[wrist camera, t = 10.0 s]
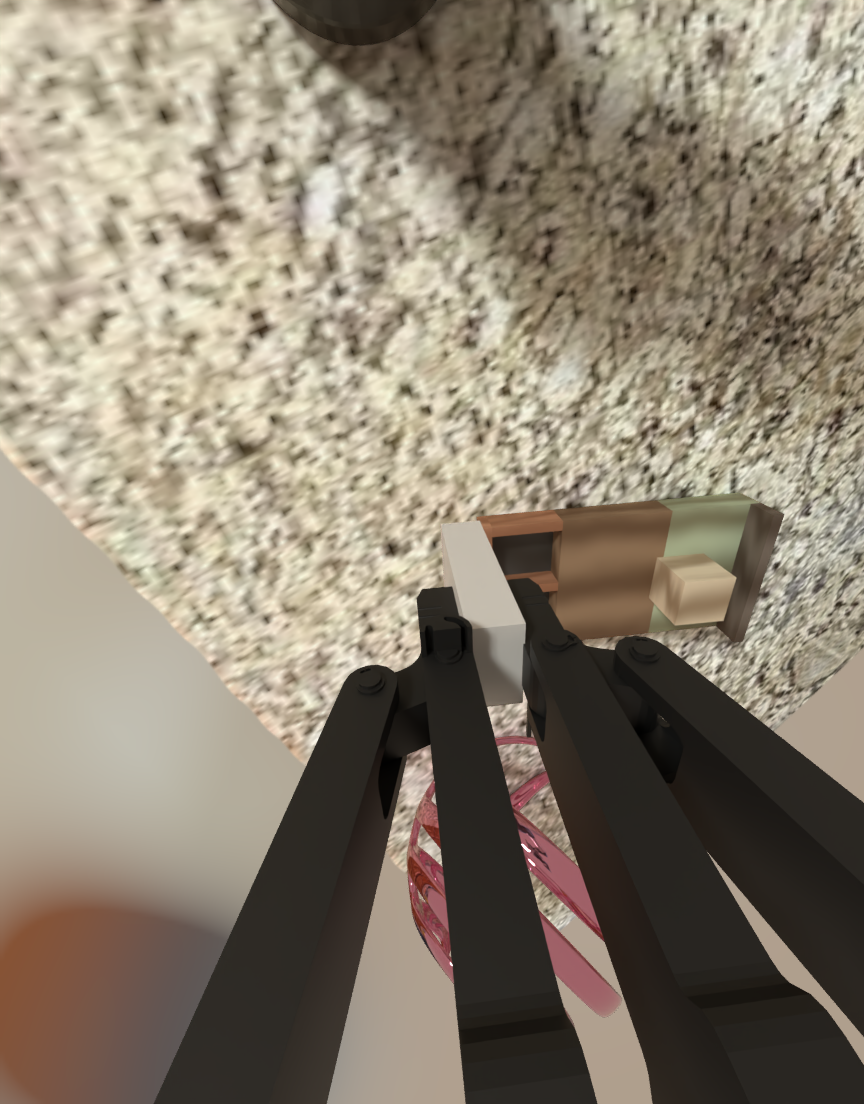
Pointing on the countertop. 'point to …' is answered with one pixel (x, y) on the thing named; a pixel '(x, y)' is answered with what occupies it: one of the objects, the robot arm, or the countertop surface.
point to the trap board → (634, 557)
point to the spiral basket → (542, 863)
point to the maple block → (691, 589)
